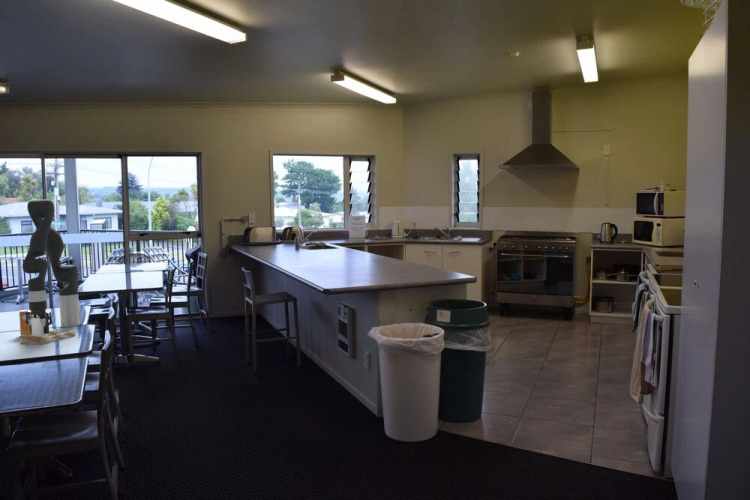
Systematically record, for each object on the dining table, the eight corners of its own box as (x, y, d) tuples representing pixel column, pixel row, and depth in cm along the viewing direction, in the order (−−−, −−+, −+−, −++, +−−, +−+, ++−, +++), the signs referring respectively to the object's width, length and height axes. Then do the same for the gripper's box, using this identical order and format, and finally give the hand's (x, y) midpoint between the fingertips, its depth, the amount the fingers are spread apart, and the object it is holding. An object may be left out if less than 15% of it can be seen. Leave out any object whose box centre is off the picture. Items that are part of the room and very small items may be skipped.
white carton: (32, 343, 279) (30, 318, 278) (32, 341, 285) (31, 316, 284) (47, 341, 282) (46, 317, 281) (48, 339, 288) (46, 315, 287)
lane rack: (55, 334, 299) (55, 327, 299) (74, 335, 295) (74, 328, 295) (20, 343, 280) (20, 336, 280) (40, 344, 276) (39, 337, 276)
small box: (21, 337, 293) (19, 311, 292) (20, 335, 299) (18, 310, 298) (39, 335, 298) (38, 309, 297) (38, 333, 303) (37, 308, 302)
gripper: (55, 299, 283) (57, 332, 284) (33, 298, 288) (35, 331, 289) (41, 301, 276) (44, 335, 277) (19, 300, 281) (21, 334, 282)
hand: (39, 333), depth 283 cm, fingers open, 8 cm apart
